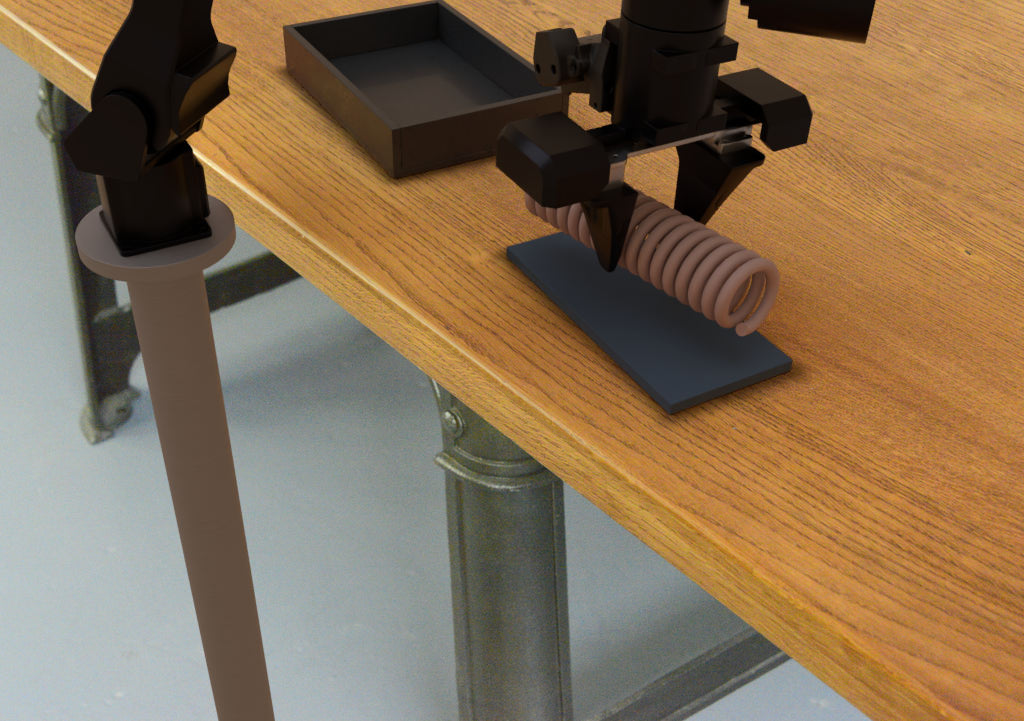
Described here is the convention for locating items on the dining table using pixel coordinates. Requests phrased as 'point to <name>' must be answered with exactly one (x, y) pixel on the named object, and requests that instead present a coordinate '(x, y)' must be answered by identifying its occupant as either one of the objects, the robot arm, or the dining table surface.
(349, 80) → the dark brown tray
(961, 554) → the dining table surface
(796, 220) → the dining table surface
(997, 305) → the dining table surface
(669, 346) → the pad
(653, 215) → the coil
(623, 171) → the robot arm
